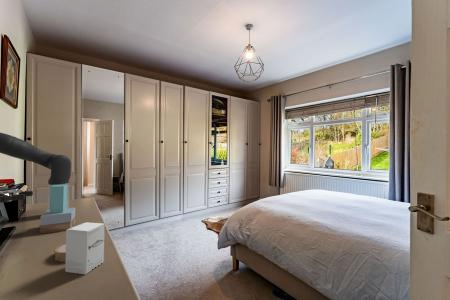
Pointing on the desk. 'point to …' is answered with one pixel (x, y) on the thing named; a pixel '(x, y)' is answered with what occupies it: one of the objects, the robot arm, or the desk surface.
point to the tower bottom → (57, 226)
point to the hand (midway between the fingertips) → (28, 195)
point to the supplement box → (84, 247)
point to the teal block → (58, 198)
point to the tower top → (57, 217)
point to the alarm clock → (62, 252)
